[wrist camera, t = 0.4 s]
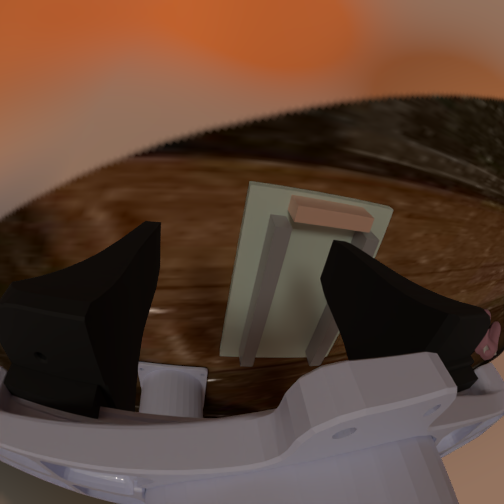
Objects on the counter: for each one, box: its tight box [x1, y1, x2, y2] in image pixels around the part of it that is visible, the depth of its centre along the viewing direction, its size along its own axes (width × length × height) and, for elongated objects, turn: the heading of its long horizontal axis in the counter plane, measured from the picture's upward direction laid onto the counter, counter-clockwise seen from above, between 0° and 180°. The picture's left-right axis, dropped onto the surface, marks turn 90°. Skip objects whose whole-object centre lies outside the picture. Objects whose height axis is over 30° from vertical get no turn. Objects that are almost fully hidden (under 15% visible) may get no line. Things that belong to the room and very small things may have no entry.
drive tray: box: [220, 181, 393, 367], centre depth 25 cm, size 18×12×3 cm, turn 170°
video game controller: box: [475, 309, 501, 360], centre depth 34 cm, size 10×5×7 cm, turn 57°
